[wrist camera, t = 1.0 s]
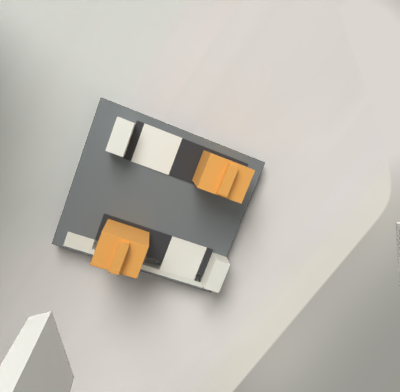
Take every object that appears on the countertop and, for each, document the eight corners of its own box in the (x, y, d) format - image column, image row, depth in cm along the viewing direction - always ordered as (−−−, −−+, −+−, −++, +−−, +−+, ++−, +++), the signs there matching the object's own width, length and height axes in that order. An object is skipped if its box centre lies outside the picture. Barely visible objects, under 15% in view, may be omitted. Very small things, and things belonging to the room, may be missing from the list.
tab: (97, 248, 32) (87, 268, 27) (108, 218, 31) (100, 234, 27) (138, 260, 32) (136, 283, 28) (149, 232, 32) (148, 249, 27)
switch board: (56, 238, 33) (45, 251, 29) (103, 98, 31) (97, 95, 27) (209, 285, 36) (214, 302, 32) (260, 161, 34) (272, 164, 30)
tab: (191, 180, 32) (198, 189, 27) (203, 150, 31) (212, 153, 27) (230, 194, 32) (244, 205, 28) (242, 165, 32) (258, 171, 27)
